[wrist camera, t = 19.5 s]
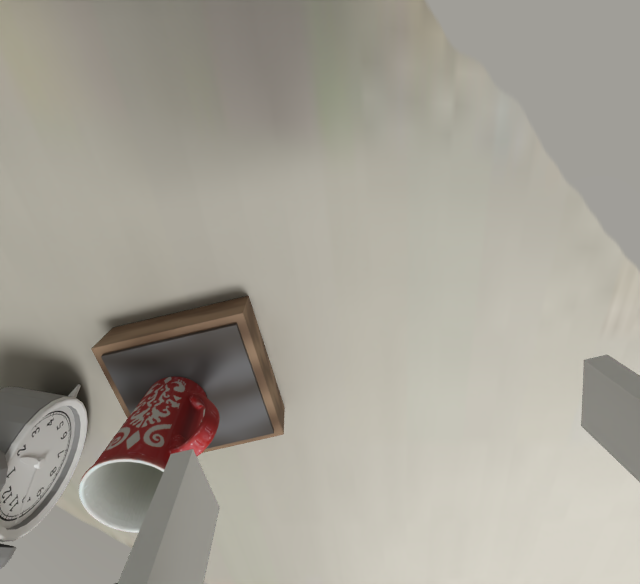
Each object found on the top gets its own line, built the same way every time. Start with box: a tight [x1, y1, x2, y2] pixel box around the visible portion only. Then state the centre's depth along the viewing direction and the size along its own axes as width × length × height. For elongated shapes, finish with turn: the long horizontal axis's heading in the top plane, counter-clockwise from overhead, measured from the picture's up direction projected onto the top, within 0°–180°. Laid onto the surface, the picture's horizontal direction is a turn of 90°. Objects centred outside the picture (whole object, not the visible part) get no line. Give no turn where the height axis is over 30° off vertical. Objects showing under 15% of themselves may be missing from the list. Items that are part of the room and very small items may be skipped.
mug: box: [79, 376, 220, 533], centre depth 39 cm, size 13×9×14 cm
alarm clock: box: [0, 384, 88, 569], centre depth 41 cm, size 16×9×22 cm, turn 168°
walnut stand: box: [91, 296, 285, 453], centre depth 48 cm, size 18×18×6 cm
